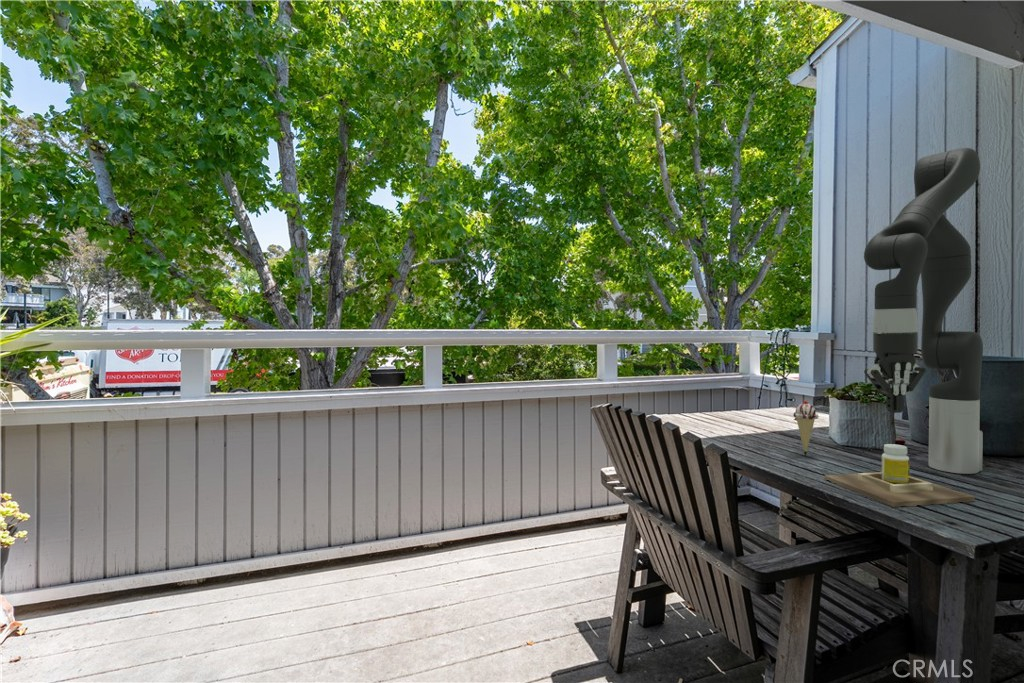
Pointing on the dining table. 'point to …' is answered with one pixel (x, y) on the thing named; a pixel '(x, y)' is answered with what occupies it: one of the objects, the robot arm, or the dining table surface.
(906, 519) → the dining table surface
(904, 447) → the supplement bottle
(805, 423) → the ice cream cone
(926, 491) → the socket board
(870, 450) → the dining table surface
